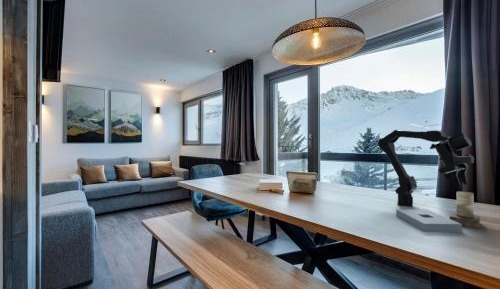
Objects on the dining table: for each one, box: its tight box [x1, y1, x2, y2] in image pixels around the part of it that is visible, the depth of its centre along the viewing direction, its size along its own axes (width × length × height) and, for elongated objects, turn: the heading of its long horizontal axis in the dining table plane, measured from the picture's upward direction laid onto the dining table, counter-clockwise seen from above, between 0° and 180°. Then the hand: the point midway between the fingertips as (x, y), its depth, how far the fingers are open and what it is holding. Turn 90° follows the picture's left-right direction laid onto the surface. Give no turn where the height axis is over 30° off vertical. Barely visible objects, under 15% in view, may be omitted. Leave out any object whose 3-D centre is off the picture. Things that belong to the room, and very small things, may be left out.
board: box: [395, 208, 463, 233], centre depth 104 cm, size 20×14×3 cm
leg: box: [456, 190, 475, 218], centre depth 103 cm, size 6×6×13 cm
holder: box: [449, 211, 481, 230], centre depth 104 cm, size 9×9×3 cm
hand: (462, 185), depth 114 cm, fingers open, 9 cm apart
